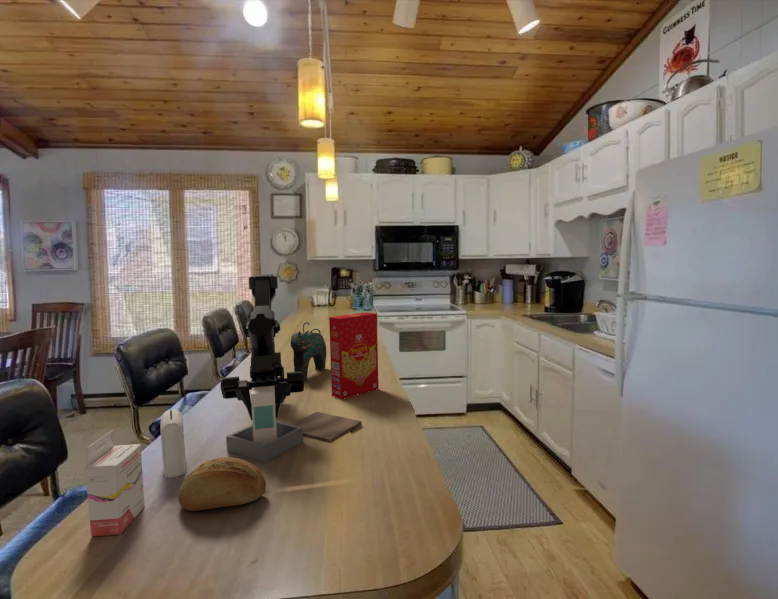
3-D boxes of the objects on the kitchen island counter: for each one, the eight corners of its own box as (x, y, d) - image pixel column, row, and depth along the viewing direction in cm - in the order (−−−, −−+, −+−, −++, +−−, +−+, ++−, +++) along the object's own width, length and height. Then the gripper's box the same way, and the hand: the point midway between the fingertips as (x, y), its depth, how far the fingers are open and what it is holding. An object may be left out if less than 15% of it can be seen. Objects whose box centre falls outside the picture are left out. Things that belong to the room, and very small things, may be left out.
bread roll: (264, 512, 77) (262, 468, 76) (171, 525, 74) (168, 479, 73) (267, 484, 87) (265, 445, 86) (185, 495, 83) (182, 454, 83)
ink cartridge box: (122, 535, 72) (114, 447, 70) (90, 537, 71) (81, 449, 70) (146, 505, 80) (140, 426, 78) (117, 507, 80) (111, 428, 78)
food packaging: (341, 399, 136) (338, 318, 133) (331, 395, 140) (329, 317, 137) (378, 389, 146) (376, 313, 143) (368, 386, 150) (366, 312, 147)
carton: (255, 441, 104) (252, 387, 103) (277, 438, 106) (274, 385, 104) (253, 451, 99) (250, 394, 98) (277, 448, 101) (274, 392, 99)
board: (282, 432, 112) (282, 427, 112) (316, 415, 123) (316, 411, 123) (330, 444, 104) (329, 439, 104) (361, 425, 115) (361, 421, 115)
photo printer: (164, 461, 97) (159, 406, 96) (185, 456, 99) (181, 403, 98) (163, 482, 88) (158, 422, 87) (187, 477, 90) (182, 418, 89)
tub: (227, 453, 101) (226, 436, 100) (266, 434, 111) (266, 418, 110) (264, 465, 94) (264, 447, 94) (303, 443, 105) (302, 427, 104)
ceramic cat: (303, 382, 155) (301, 325, 153) (287, 381, 158) (284, 325, 156) (330, 368, 174) (328, 317, 172) (315, 367, 176) (313, 317, 174)
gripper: (218, 343, 102) (215, 406, 92) (301, 338, 106) (306, 397, 97) (224, 368, 110) (222, 428, 101) (301, 362, 115) (305, 419, 105)
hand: (264, 418), depth 101 cm, fingers closed on carton, 5 cm apart
